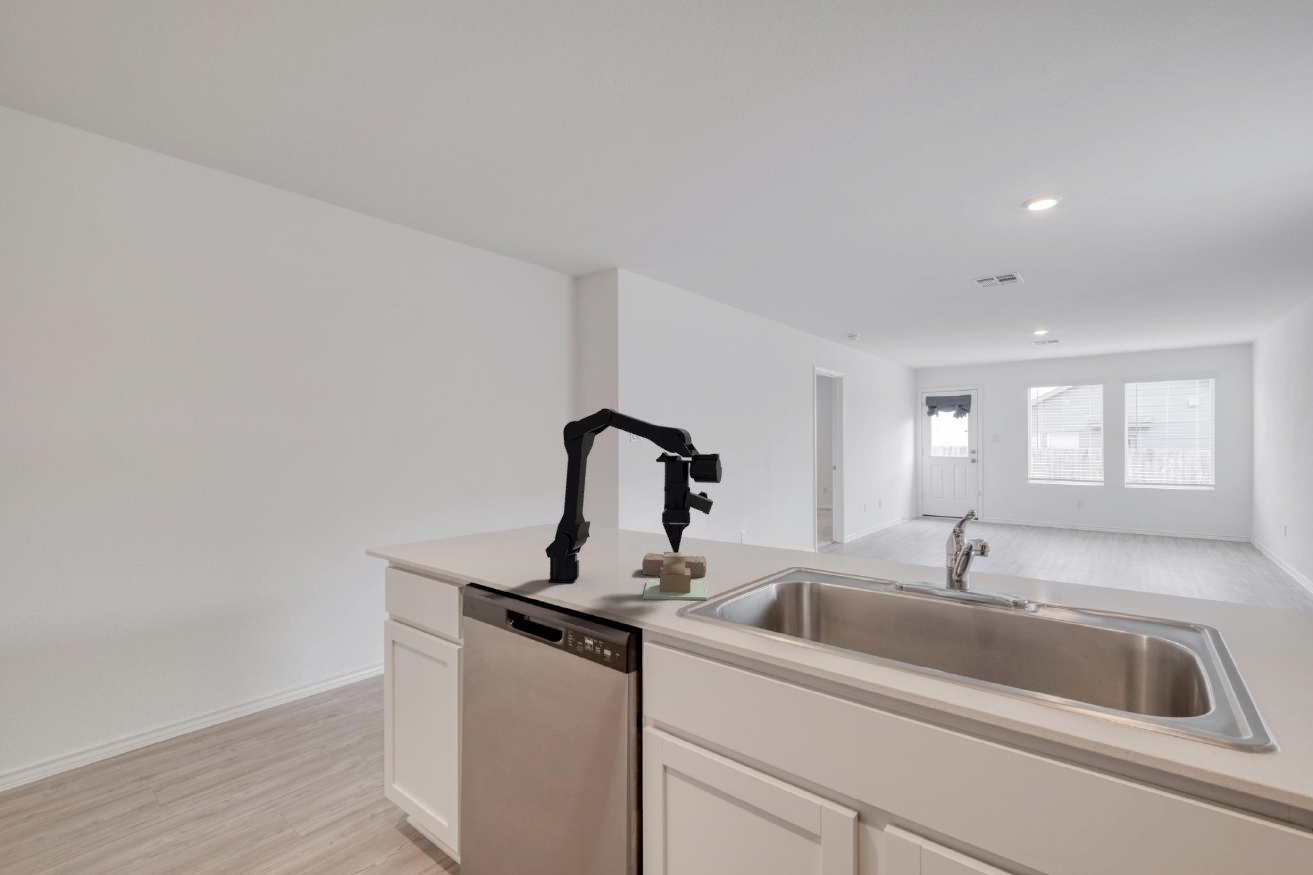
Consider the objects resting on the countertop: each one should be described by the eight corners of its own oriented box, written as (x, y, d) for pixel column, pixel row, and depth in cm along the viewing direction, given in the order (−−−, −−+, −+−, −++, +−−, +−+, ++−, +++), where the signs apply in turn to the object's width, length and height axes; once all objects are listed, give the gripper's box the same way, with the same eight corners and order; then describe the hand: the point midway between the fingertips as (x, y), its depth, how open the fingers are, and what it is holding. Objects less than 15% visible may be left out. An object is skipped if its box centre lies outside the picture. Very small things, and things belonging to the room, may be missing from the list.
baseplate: (643, 598, 129) (643, 577, 129) (647, 582, 143) (647, 564, 143) (706, 600, 128) (706, 579, 128) (703, 583, 142) (704, 565, 142)
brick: (706, 571, 157) (706, 553, 157) (705, 578, 149) (705, 560, 149) (645, 569, 159) (645, 552, 159) (641, 576, 151) (641, 558, 151)
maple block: (663, 573, 133) (663, 556, 133) (663, 568, 138) (663, 551, 138) (685, 574, 133) (685, 556, 133) (684, 569, 138) (684, 552, 138)
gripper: (713, 485, 126) (712, 557, 126) (709, 479, 144) (708, 542, 144) (662, 485, 126) (661, 556, 126) (664, 478, 145) (664, 541, 145)
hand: (676, 548), depth 135 cm, fingers open, 9 cm apart
